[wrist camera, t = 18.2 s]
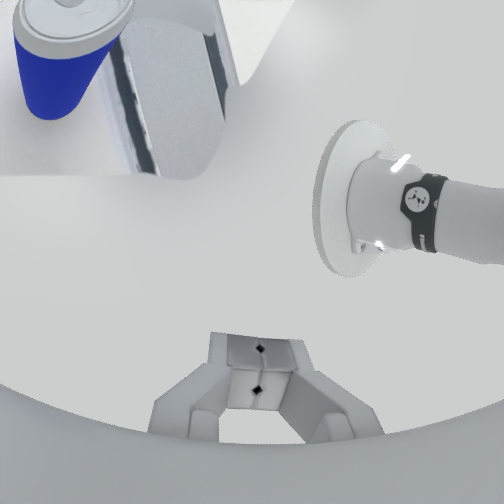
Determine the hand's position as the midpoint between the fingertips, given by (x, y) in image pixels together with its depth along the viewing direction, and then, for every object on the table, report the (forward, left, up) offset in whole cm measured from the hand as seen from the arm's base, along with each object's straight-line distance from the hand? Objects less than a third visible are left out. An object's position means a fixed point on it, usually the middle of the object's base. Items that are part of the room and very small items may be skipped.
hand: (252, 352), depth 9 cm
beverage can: (+9, -10, -19) cm, 24 cm away
